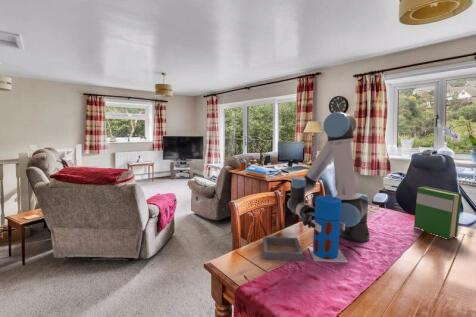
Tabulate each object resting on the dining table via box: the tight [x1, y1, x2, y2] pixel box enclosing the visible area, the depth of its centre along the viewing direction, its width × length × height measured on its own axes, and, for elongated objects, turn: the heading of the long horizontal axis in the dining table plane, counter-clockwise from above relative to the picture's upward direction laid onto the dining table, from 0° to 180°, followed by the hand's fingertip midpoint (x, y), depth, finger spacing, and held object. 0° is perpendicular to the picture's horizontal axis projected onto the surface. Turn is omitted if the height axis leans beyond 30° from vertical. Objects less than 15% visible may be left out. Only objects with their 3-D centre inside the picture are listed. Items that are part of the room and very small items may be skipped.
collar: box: [262, 236, 304, 262], centre depth 119 cm, size 16×16×3 cm
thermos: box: [312, 195, 342, 259], centre depth 114 cm, size 11×11×25 cm
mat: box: [308, 246, 349, 264], centre depth 116 cm, size 14×12×1 cm
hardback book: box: [413, 186, 463, 239], centre depth 142 cm, size 18×7×24 cm, turn 24°
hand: (332, 228), depth 110 cm, fingers closed on thermos, 11 cm apart
